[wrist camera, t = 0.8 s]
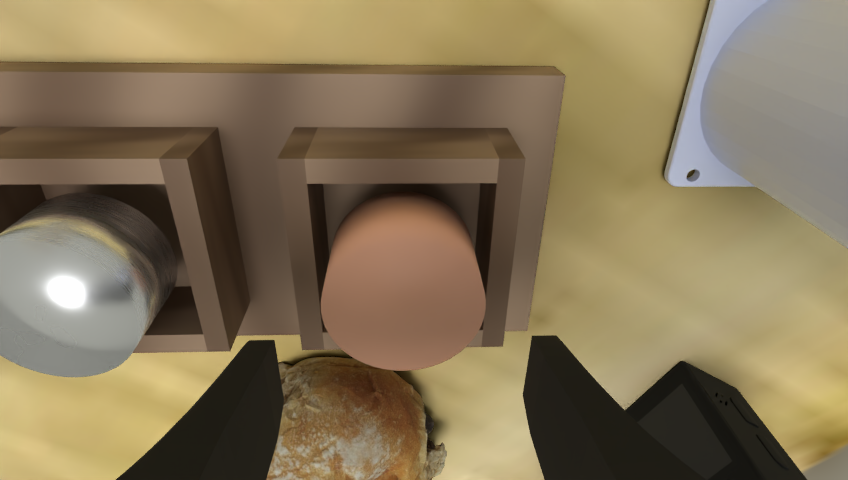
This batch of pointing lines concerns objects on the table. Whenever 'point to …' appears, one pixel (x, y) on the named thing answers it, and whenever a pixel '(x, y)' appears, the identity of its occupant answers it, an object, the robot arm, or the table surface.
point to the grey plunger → (81, 284)
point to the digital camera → (711, 428)
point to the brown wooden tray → (285, 174)
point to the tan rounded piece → (402, 283)
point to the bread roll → (352, 425)
